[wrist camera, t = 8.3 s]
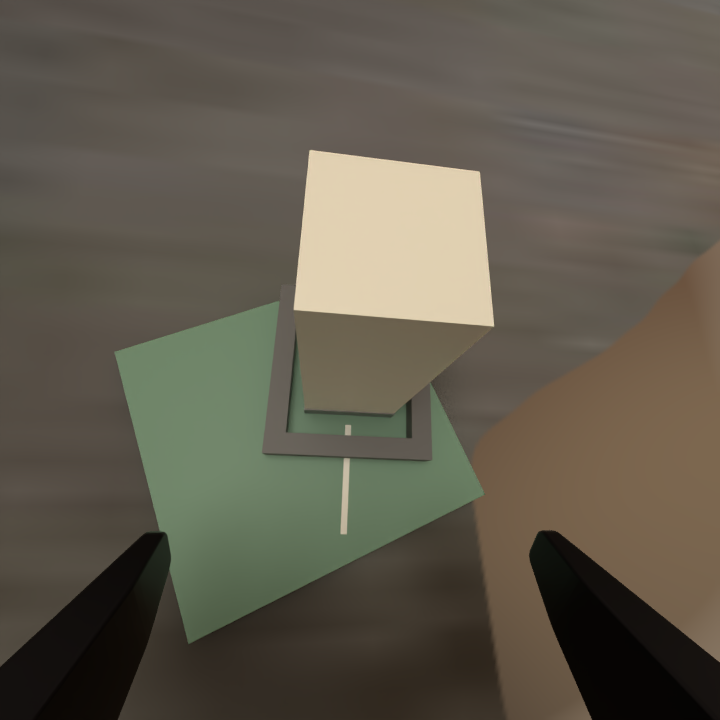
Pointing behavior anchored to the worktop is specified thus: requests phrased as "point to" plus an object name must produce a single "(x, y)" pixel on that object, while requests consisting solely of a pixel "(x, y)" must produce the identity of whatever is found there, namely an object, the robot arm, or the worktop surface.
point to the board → (274, 465)
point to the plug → (386, 280)
